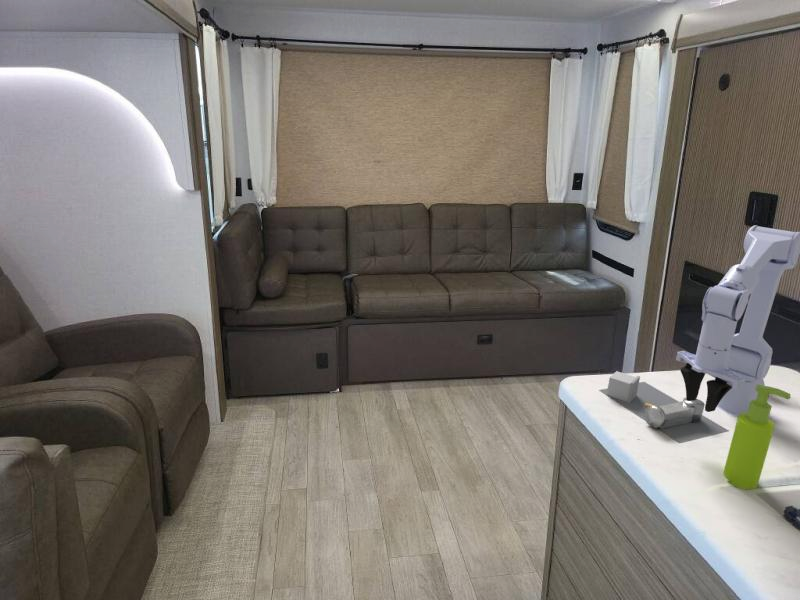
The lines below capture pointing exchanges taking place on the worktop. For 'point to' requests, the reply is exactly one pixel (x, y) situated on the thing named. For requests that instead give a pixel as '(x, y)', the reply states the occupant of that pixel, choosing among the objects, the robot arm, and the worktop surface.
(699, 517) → the worktop surface
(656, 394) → the duct board
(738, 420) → the soap dispenser
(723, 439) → the worktop surface
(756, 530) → the worktop surface
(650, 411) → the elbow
